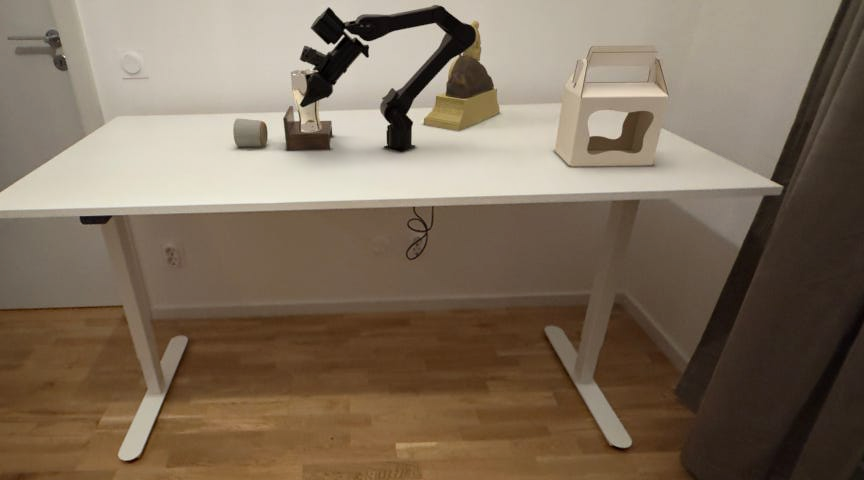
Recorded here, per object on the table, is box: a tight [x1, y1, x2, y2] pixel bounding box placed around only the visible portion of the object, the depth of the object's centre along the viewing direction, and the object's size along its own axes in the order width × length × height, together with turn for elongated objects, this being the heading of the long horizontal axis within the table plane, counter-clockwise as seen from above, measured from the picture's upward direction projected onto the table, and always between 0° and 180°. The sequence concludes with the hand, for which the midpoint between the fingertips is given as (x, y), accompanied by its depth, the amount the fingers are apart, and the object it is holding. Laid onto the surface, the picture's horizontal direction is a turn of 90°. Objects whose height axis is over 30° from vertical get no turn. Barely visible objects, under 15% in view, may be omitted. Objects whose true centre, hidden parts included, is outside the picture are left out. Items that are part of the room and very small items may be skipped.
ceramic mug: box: [232, 118, 269, 148], centre depth 152 cm, size 11×8×8 cm
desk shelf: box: [282, 105, 333, 151], centre depth 153 cm, size 12×14×9 cm
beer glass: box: [290, 68, 322, 133], centre depth 141 cm, size 7×7×15 cm
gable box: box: [554, 45, 670, 168], centre depth 136 cm, size 22×13×28 cm, turn 93°
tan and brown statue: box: [423, 20, 501, 132], centre depth 172 cm, size 28×13×30 cm, turn 144°
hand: (302, 103), depth 141 cm, fingers closed on beer glass, 6 cm apart
